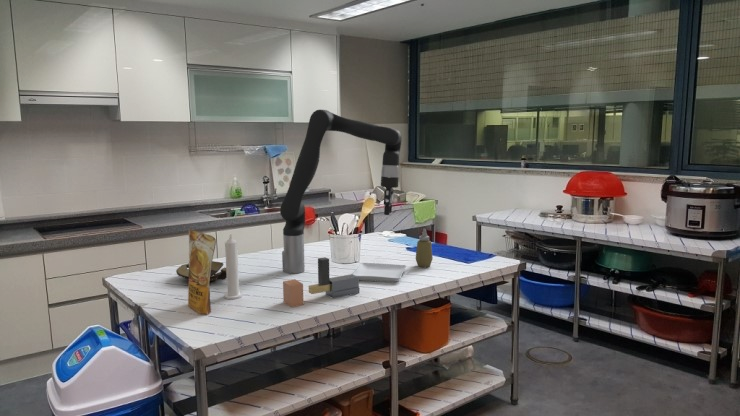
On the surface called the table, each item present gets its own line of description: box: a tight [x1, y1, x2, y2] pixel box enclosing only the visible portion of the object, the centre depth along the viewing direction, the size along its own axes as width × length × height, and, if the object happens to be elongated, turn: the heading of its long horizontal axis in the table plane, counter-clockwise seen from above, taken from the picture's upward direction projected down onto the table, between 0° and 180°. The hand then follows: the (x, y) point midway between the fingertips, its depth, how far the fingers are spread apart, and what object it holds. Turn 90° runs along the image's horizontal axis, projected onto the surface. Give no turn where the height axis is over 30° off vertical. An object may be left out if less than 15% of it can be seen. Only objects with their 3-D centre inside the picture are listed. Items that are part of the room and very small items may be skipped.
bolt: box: [308, 257, 331, 295], centre depth 206 cm, size 20×3×13 cm, turn 122°
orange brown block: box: [282, 278, 305, 308], centre depth 198 cm, size 5×7×8 cm
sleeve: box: [325, 273, 361, 299], centre depth 209 cm, size 12×6×6 cm, turn 122°
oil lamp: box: [175, 260, 227, 282], centre depth 228 cm, size 22×30×8 cm
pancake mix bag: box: [187, 229, 217, 315], centre depth 191 cm, size 7×19×28 cm, turn 39°
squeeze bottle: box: [415, 228, 433, 268], centre depth 249 cm, size 8×8×18 cm
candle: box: [223, 233, 244, 300], centre depth 205 cm, size 7×7×25 cm
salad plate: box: [352, 262, 407, 283], centre depth 234 cm, size 21×21×3 cm
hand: (387, 213), depth 226 cm, fingers open, 8 cm apart
